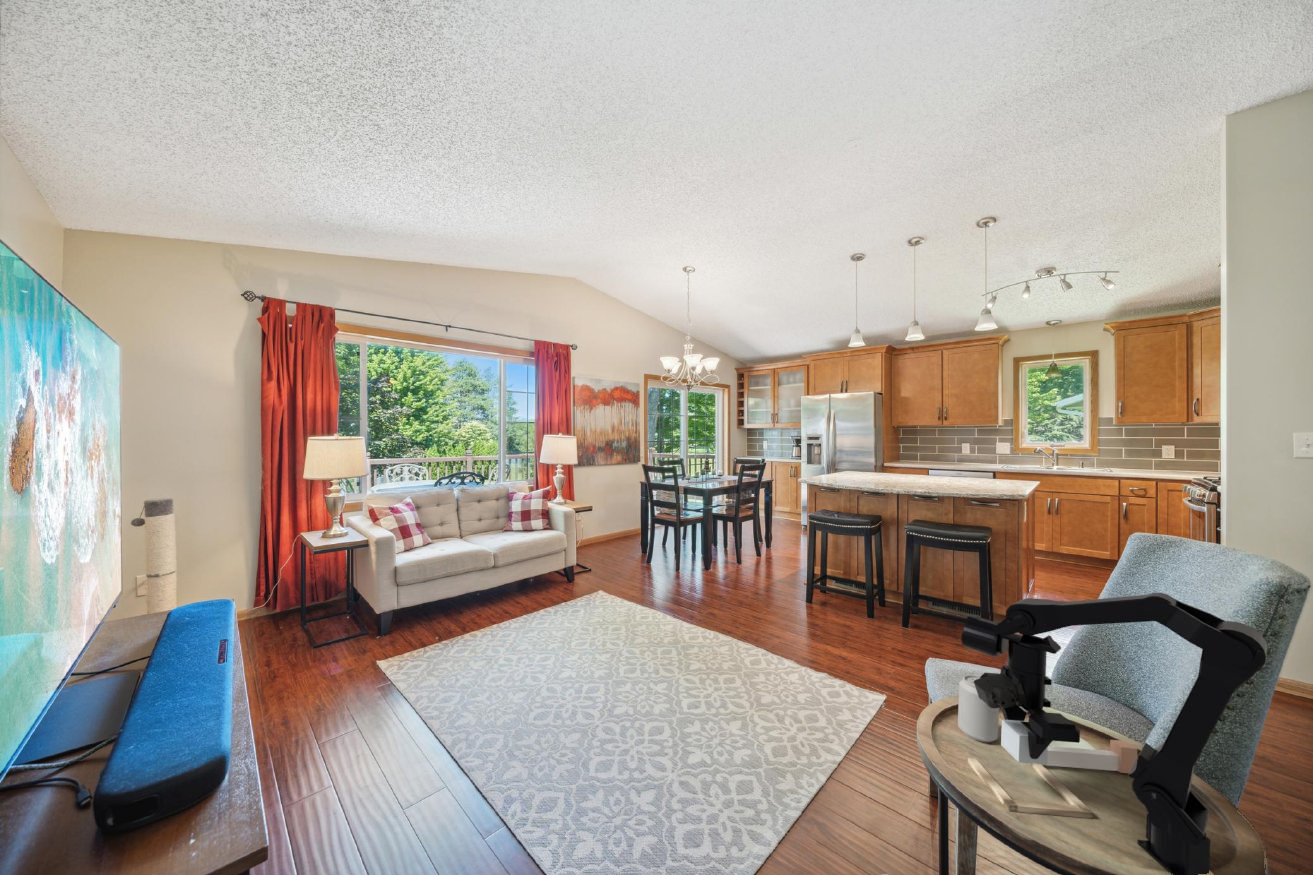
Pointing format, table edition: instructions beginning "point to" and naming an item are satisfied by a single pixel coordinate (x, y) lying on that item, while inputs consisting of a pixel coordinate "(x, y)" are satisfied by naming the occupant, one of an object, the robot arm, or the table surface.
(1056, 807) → the wooden u frame
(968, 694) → the can
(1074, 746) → the mat
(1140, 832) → the table surface
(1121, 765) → the bar
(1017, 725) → the block
